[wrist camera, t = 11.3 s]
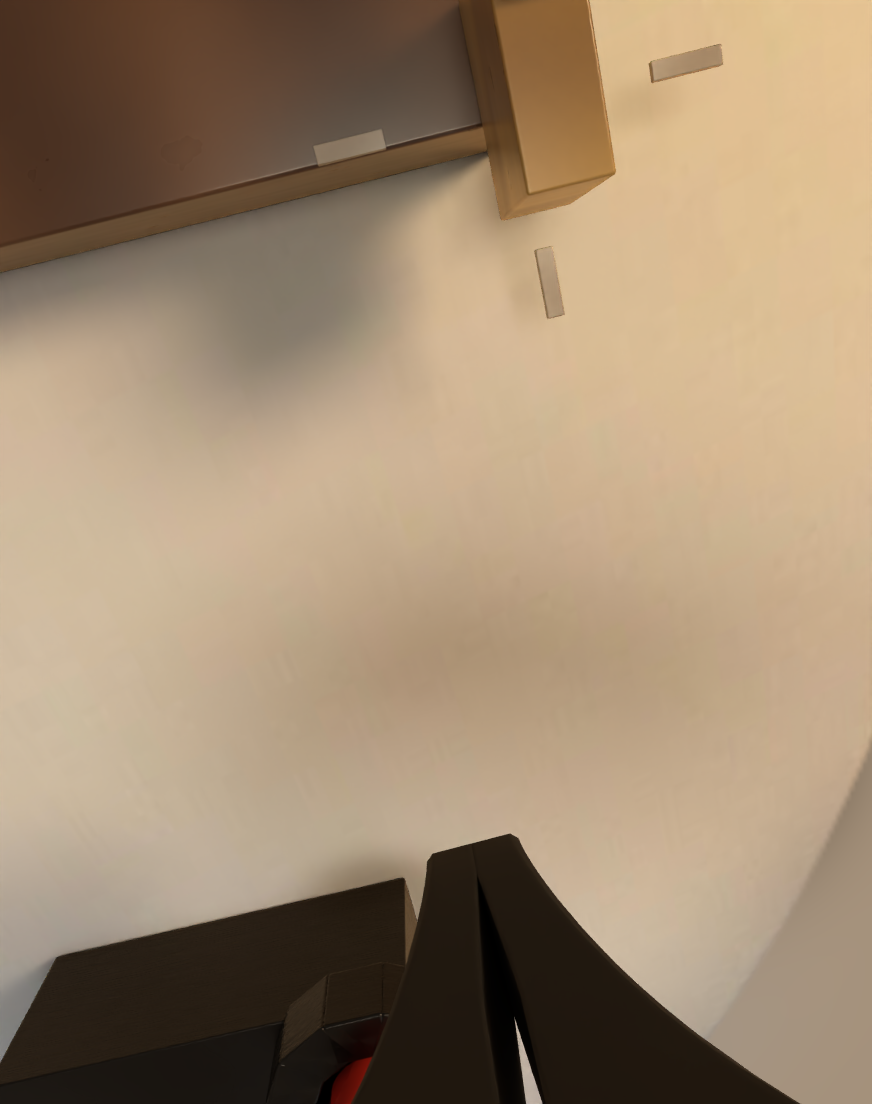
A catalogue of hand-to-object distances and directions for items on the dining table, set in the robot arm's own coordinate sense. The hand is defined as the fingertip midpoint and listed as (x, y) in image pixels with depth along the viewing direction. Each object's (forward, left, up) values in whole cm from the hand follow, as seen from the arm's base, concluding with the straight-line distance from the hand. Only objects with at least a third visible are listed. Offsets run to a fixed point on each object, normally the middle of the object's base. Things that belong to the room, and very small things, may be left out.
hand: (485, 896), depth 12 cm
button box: (+8, +12, -10) cm, 17 cm away
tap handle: (-4, -12, -7) cm, 15 cm away
